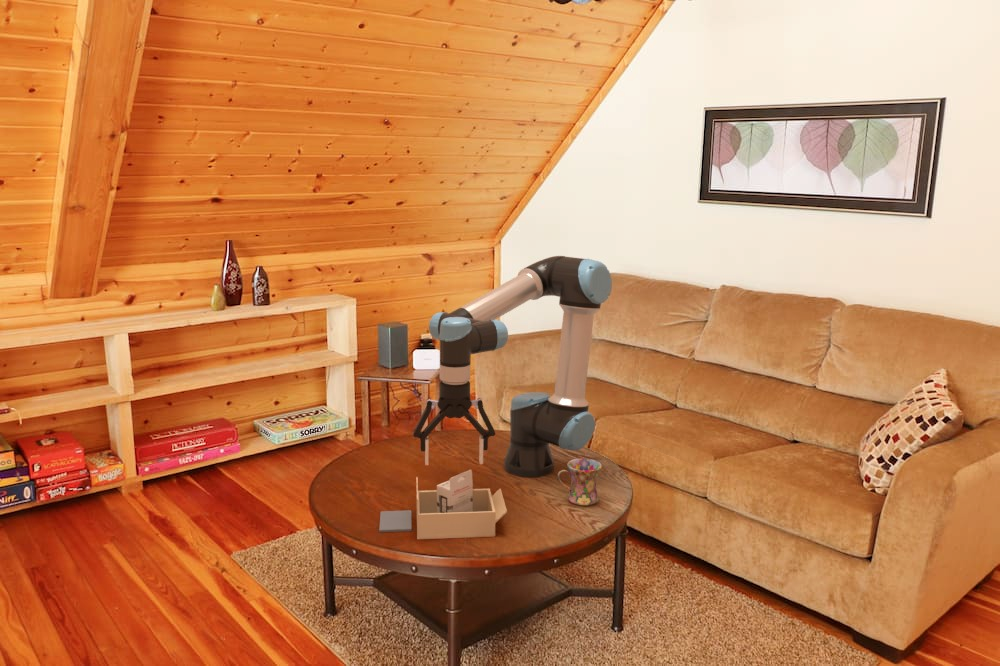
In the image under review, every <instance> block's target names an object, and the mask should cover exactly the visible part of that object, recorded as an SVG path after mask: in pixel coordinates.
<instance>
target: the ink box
mask: <svg viewBox="0 0 1000 666" xmlns="http://www.w3.org/2000/svg"><path fill="white" fill-rule="evenodd" d="M473 482H474V481H473V471H472V469H469V470H467V471H463V472H461V473H459V474H457V475H454V476H452V477H450V478H449V480H446V481H444V482H441V483H439V484H436V490H437V513H452V512H473V489H474V488H473V487H474V483H473Z"/></svg>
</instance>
